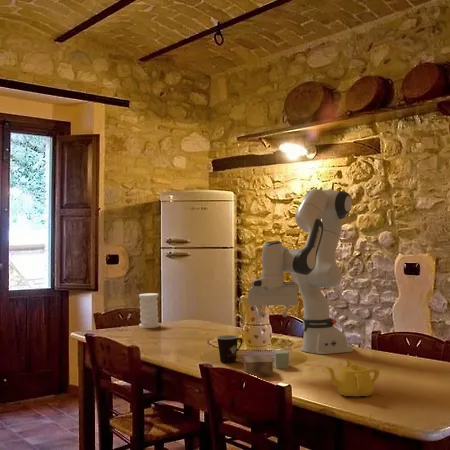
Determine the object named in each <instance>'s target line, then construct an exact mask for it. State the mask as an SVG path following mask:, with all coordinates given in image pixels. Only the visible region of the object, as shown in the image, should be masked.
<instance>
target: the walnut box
mask: <svg viewBox="0 0 450 450" xmlns="http://www.w3.org/2000/svg"><path fill="white" fill-rule="evenodd" d="M242 359H243V373H244V372H246V373H248V374H251V375H254V376H257V377H260V378H273V377H274V371H273V370H274V369H273V367H274V366H273V360H272V357H271V356H270V354H269V355H267V354H266V355H248V356H247V355H246V356H245V355H244V356H243V358H242Z"/></svg>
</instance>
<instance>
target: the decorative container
mask: <svg viewBox="0 0 450 450" xmlns="http://www.w3.org/2000/svg"><path fill="white" fill-rule="evenodd" d="M158 297H159V293H155V292H152V293H151V292H150V293H149V292H148V293H140V294H138V298H139V305H140V306H139V310H140V312H139V315H140V318H139V319H140V323H138V325H139V326H138V328H141V329H155V328H159V327H160V326H161V324H160V322H159V316H158V315H159V311H158V309H159V306H158V303H159V301H158Z"/></svg>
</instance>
